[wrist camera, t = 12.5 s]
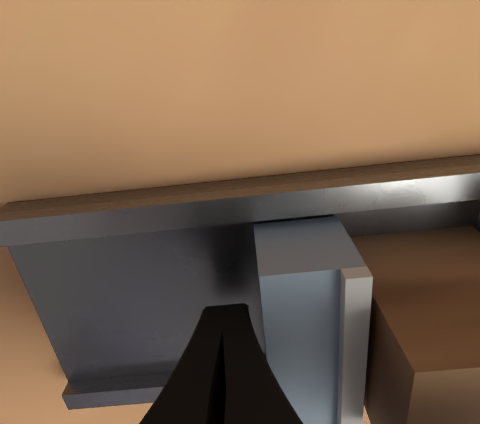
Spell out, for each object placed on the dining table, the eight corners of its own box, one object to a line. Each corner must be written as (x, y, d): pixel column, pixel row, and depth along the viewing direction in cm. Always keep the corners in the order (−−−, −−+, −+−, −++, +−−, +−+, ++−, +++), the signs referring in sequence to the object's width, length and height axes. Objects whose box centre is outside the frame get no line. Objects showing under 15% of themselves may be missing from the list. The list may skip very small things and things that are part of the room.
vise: (500, 341, 14) (572, 424, 11) (82, 378, 15) (43, 466, 12) (557, 146, 11) (684, 189, 8) (8, 202, 11) (-76, 263, 8)
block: (450, 324, 13) (569, 479, 8) (338, 333, 13) (395, 492, 8) (471, 225, 11) (634, 354, 7) (341, 238, 11) (414, 372, 7)
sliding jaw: (334, 356, 13) (361, 439, 10) (266, 362, 13) (275, 446, 10) (337, 216, 11) (373, 276, 8) (253, 224, 11) (260, 287, 8)
